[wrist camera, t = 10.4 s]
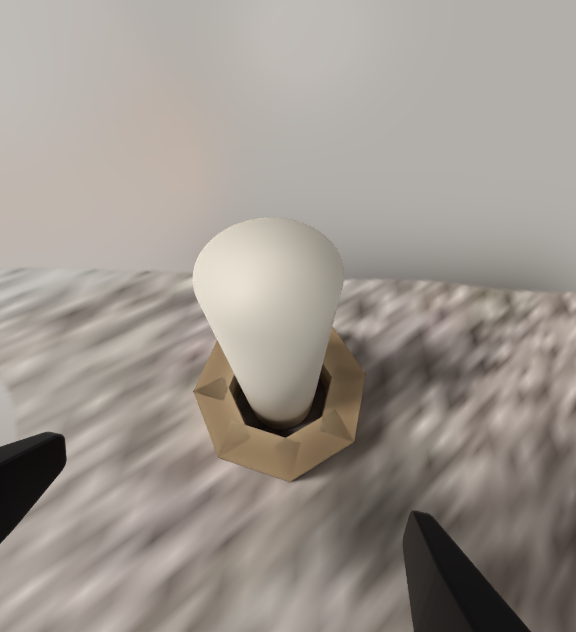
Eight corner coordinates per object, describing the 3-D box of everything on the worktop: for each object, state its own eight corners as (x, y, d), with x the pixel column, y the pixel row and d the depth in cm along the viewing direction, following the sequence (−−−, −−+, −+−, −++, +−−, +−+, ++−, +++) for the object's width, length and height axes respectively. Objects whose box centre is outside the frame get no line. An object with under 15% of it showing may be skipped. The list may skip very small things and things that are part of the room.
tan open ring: (336, 498, 18) (344, 500, 15) (186, 447, 19) (169, 440, 16) (363, 351, 22) (372, 333, 20) (241, 319, 24) (235, 299, 21)
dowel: (318, 424, 20) (360, 325, 8) (252, 433, 20) (189, 346, 7) (307, 362, 22) (327, 211, 10) (248, 369, 22) (195, 224, 10)
